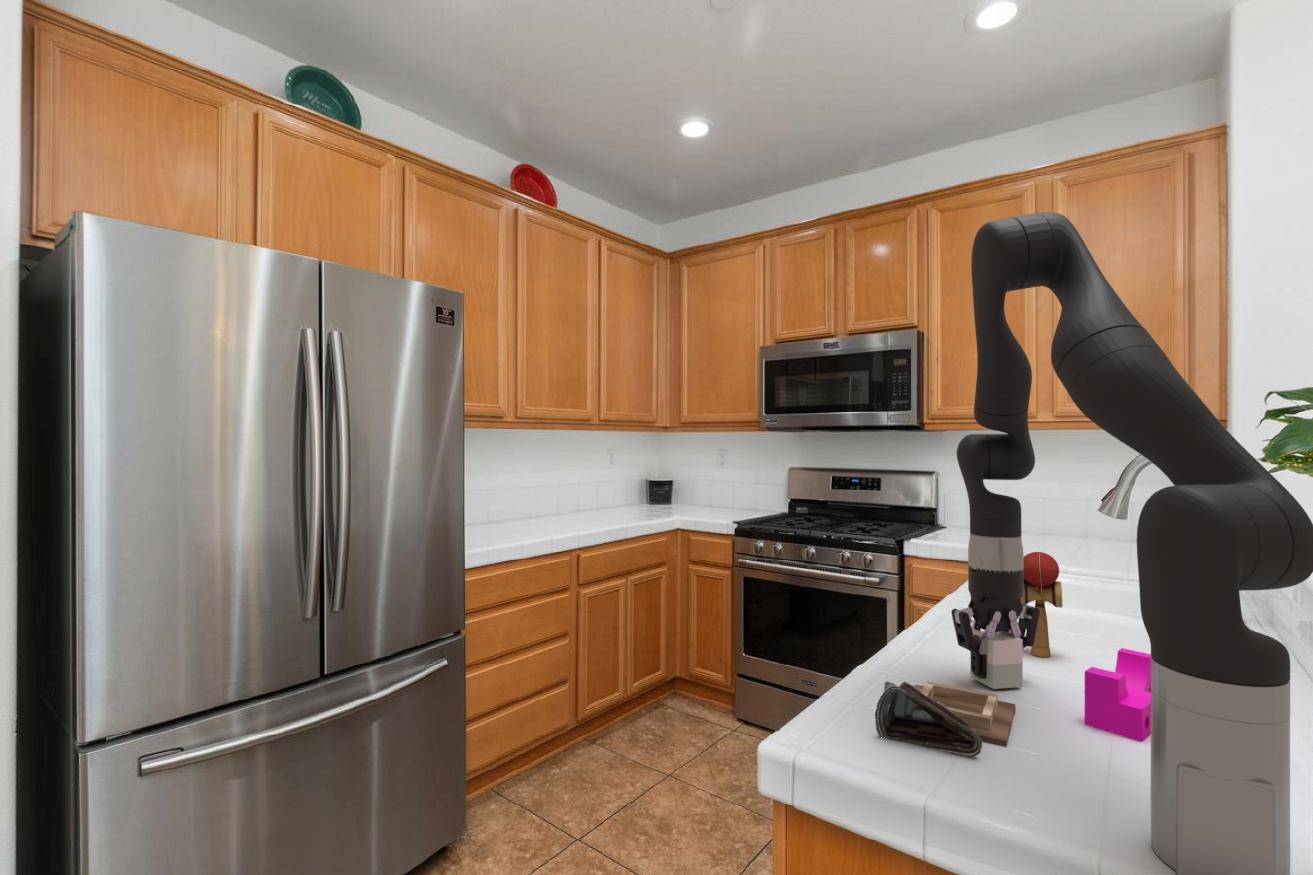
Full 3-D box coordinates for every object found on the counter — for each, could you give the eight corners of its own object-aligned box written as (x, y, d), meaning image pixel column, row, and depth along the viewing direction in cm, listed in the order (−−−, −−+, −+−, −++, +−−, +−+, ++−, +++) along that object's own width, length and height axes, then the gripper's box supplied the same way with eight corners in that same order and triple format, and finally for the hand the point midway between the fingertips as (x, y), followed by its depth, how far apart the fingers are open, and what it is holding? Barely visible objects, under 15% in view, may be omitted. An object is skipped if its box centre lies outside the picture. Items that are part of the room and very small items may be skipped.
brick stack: (1022, 686, 97) (1022, 639, 97) (993, 689, 96) (993, 641, 96) (998, 674, 102) (998, 630, 102) (970, 676, 101) (970, 631, 101)
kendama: (1007, 653, 114) (1007, 551, 114) (1021, 645, 118) (1021, 547, 118) (1057, 665, 108) (1057, 557, 108) (1069, 656, 112) (1069, 552, 112)
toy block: (1142, 745, 80) (1142, 685, 80) (1084, 728, 85) (1084, 671, 85) (1175, 713, 90) (1175, 659, 90) (1122, 699, 95) (1122, 647, 95)
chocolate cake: (992, 725, 81) (916, 649, 85) (989, 746, 74) (907, 662, 79) (936, 771, 83) (865, 694, 88) (929, 794, 77) (854, 710, 82)
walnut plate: (1006, 750, 78) (1006, 728, 78) (894, 724, 86) (894, 704, 86) (1015, 712, 89) (1015, 693, 89) (915, 692, 96) (915, 674, 96)
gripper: (1017, 558, 104) (1018, 664, 104) (938, 561, 101) (938, 670, 101) (1055, 567, 97) (1055, 680, 97) (970, 570, 94) (971, 688, 94)
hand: (995, 675), depth 99 cm, fingers closed on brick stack, 5 cm apart
